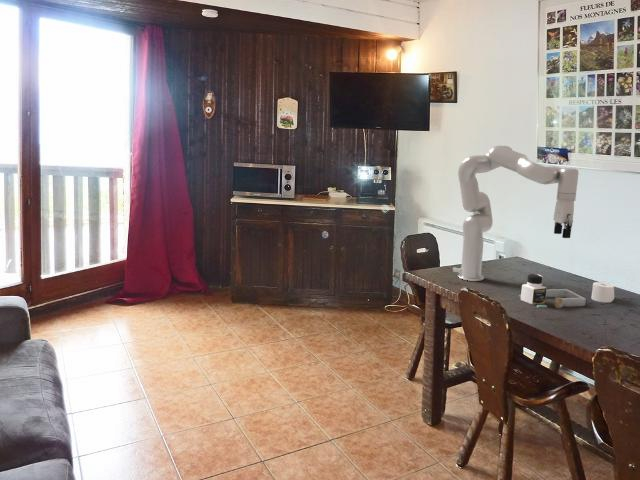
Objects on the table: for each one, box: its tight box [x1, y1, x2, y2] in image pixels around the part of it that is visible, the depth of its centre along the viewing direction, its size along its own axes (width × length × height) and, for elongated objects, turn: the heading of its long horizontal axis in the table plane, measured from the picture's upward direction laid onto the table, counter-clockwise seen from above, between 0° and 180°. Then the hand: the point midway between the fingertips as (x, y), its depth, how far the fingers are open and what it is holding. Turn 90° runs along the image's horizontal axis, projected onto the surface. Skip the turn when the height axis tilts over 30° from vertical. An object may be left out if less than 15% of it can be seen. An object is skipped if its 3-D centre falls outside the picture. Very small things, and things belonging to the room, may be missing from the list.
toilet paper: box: [591, 281, 615, 304], centre depth 246 cm, size 8×11×7 cm
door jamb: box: [553, 297, 563, 309], centre depth 240 cm, size 2×18×4 cm, turn 7°
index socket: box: [545, 288, 586, 307], centre depth 241 cm, size 10×14×3 cm
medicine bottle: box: [520, 273, 547, 306], centre depth 238 cm, size 7×7×12 cm
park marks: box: [519, 294, 548, 309], centre depth 239 cm, size 4×16×1 cm, turn 8°
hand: (561, 235), depth 243 cm, fingers open, 9 cm apart
